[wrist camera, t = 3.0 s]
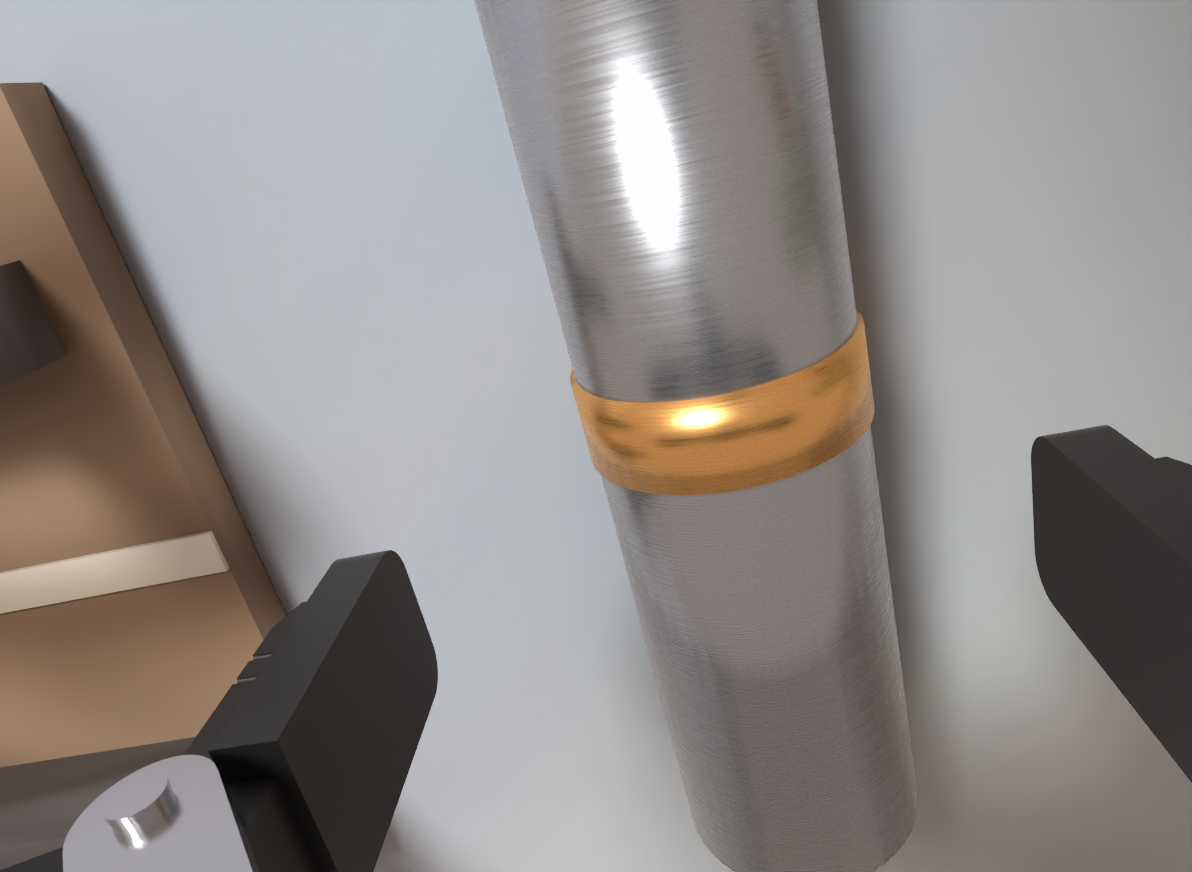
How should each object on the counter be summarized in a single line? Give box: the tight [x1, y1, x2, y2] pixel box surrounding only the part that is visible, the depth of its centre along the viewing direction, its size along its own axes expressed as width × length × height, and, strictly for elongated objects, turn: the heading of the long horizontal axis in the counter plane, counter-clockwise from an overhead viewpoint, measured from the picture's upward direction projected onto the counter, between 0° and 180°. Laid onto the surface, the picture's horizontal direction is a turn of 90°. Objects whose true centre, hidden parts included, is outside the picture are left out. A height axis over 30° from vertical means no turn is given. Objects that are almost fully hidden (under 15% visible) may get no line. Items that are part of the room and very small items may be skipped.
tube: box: [475, 0, 917, 872], centre depth 15 cm, size 20×5×5 cm, turn 13°
